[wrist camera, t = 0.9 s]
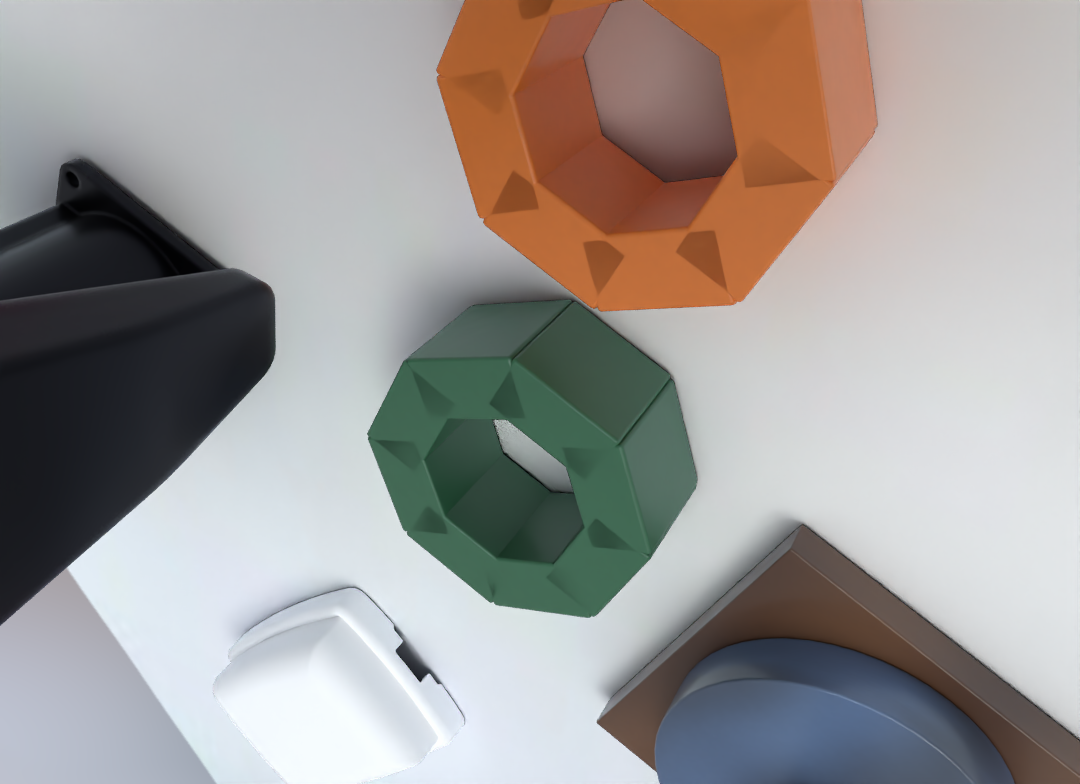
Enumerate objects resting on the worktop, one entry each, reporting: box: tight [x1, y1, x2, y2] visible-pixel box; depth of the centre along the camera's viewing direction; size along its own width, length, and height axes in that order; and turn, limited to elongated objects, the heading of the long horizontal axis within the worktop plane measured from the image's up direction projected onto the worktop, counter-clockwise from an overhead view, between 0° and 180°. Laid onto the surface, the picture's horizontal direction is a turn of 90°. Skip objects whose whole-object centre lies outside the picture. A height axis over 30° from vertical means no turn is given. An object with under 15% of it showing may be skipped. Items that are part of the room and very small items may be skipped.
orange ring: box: [436, 0, 878, 311], centre depth 19 cm, size 7×7×3 cm
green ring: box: [367, 300, 697, 618], centre depth 25 cm, size 7×7×3 cm
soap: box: [213, 588, 464, 784], centre depth 36 cm, size 9×7×3 cm
